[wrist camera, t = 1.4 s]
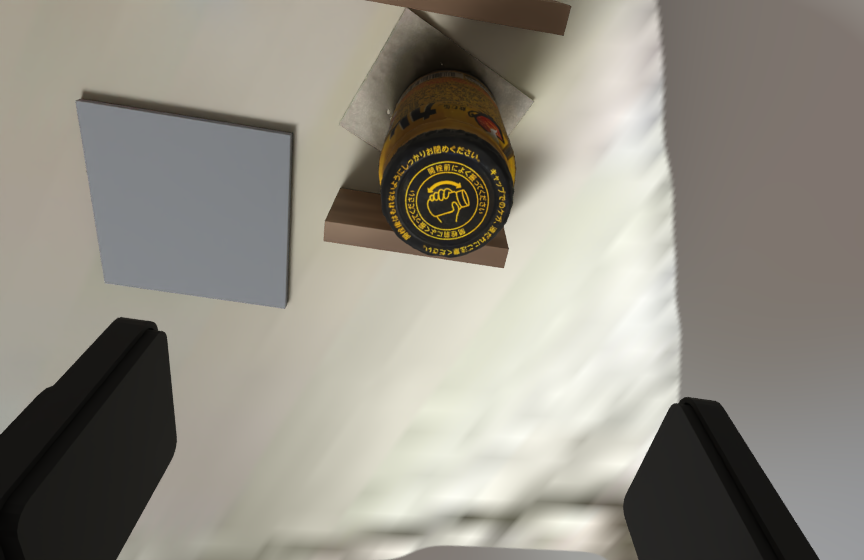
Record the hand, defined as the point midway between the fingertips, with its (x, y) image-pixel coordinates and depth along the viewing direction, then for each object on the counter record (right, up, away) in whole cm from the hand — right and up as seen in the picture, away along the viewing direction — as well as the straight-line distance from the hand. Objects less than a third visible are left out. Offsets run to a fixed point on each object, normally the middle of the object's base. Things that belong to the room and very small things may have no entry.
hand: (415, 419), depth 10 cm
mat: (-15, +7, +24) cm, 29 cm away
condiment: (0, +12, +21) cm, 24 cm away
